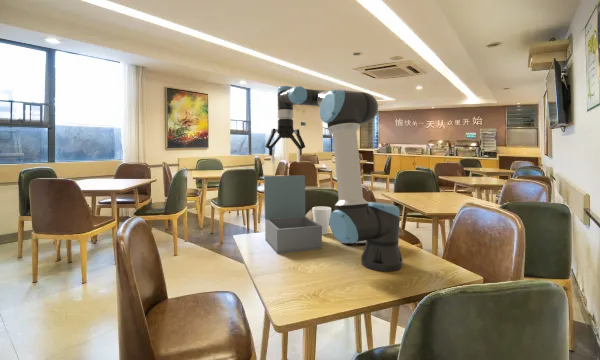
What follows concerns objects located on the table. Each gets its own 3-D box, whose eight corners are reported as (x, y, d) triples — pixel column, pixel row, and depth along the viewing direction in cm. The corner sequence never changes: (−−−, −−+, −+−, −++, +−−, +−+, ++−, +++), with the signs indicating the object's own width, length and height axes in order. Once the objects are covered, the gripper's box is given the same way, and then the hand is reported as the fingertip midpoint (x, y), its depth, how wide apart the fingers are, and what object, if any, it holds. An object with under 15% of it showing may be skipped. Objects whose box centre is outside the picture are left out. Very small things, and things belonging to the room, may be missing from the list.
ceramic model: (324, 229, 171) (325, 211, 170) (304, 230, 169) (304, 211, 168) (319, 223, 185) (319, 206, 184) (299, 224, 183) (299, 206, 182)
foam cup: (309, 234, 162) (309, 208, 161) (316, 230, 170) (317, 205, 169) (326, 236, 158) (326, 210, 156) (333, 232, 166) (334, 207, 164)
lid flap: (304, 175, 156) (296, 174, 167) (264, 176, 149) (258, 175, 160) (305, 216, 157) (297, 213, 168) (265, 219, 150) (259, 215, 161)
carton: (321, 248, 139) (322, 226, 138) (277, 253, 132) (277, 229, 131) (305, 236, 158) (305, 216, 157) (265, 240, 151) (265, 219, 150)
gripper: (306, 120, 166) (306, 161, 168) (258, 118, 157) (259, 162, 159) (311, 119, 159) (311, 162, 161) (262, 117, 150) (263, 162, 152)
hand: (285, 162), depth 160 cm, fingers open, 13 cm apart
